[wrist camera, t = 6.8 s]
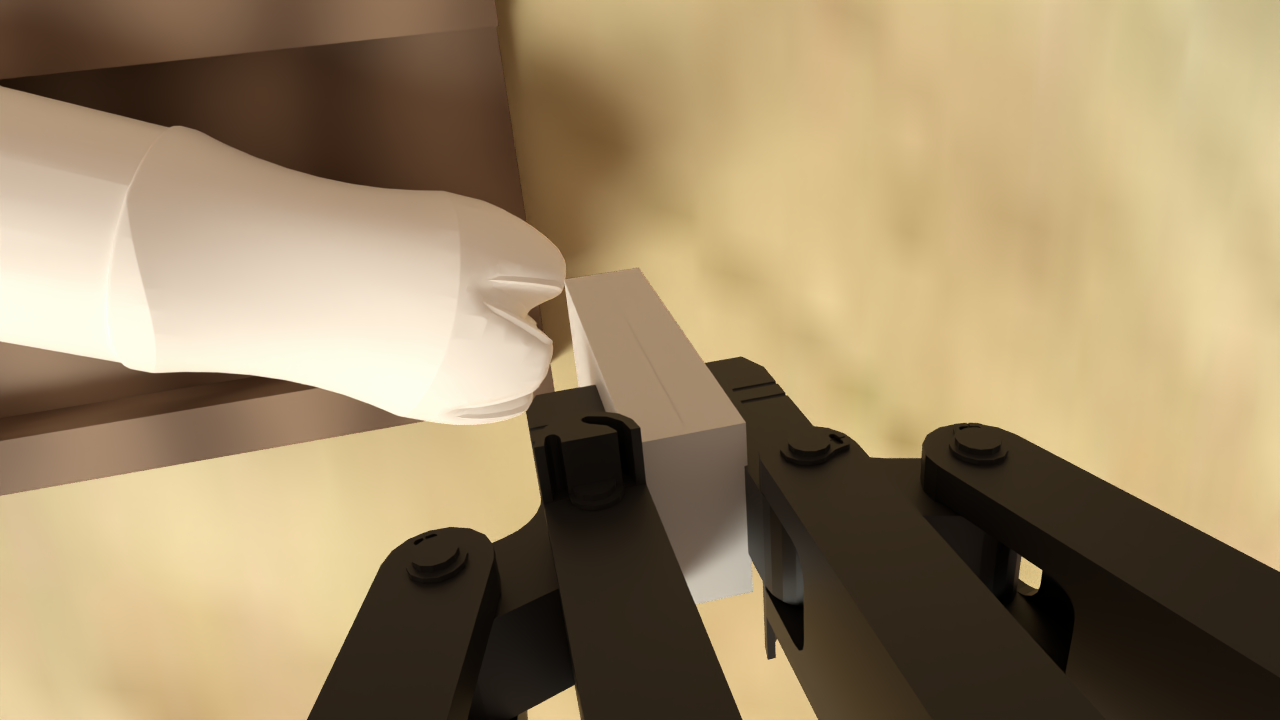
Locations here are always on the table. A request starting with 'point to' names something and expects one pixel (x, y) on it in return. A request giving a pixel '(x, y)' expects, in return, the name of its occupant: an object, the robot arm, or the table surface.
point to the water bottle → (263, 268)
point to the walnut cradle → (267, 129)
